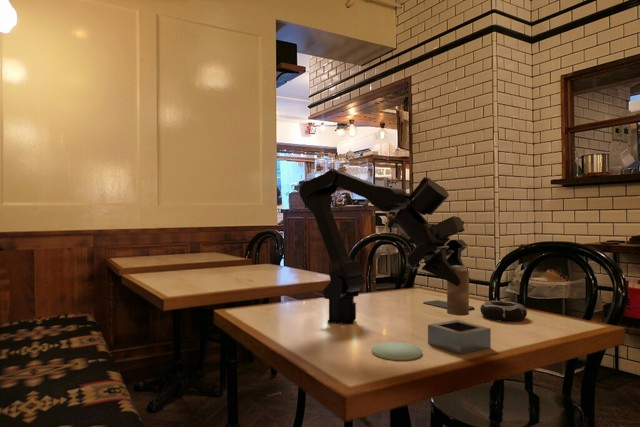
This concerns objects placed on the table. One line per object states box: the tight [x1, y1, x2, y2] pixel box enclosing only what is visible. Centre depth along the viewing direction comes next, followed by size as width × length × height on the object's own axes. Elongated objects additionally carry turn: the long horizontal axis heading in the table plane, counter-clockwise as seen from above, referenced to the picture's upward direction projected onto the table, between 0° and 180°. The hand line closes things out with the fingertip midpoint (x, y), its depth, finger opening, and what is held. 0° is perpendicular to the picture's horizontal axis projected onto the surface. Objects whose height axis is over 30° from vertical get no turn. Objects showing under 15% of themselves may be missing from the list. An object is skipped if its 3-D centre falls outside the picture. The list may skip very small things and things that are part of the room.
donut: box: [479, 300, 528, 323], centre depth 118 cm, size 12×12×4 cm
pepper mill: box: [446, 265, 470, 317], centre depth 92 cm, size 4×4×10 cm
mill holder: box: [427, 319, 492, 355], centre depth 92 cm, size 9×9×4 cm
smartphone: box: [422, 299, 475, 311], centre depth 133 cm, size 7×1×15 cm
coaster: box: [371, 341, 423, 361], centre depth 88 cm, size 10×10×1 cm
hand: (464, 282), depth 91 cm, fingers closed on pepper mill, 4 cm apart
